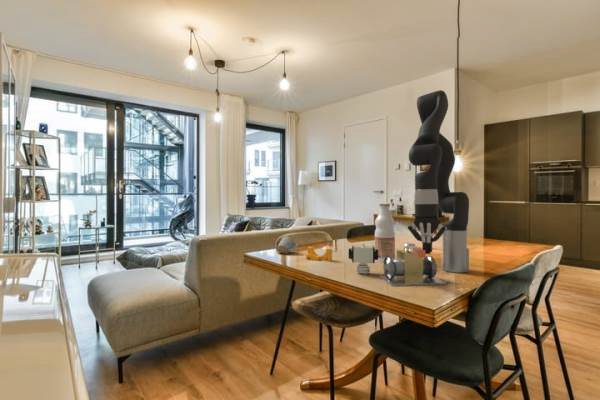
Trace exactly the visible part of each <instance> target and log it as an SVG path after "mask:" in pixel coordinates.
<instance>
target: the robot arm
mask: <svg viewBox="0 0 600 400" xmlns="http://www.w3.org/2000/svg"><path fill="white" fill-rule="evenodd" d="M416 108H417V112H418V116H419V120H420V122H421V125H420V127H419V130H418V136H417V138H416V140H415V141H414V143H413V144H412V145H411V147H410V149H409V153H408V161H409V163H410V164H411V165H412V166H415V167H417V166H418V167H419V166H429V167H428V169H427V170H425V171H421V172H418V173H416V174H415V175H414V176H415V177H414V220H413V223H412V224H410V225H408V226H407V229H408V230H409V232H410V233H411V234H412V236H413V237H414V238H415V239H416V240H417V241H418V242H421V244H422V249H424V250H426V255H430V254H431V253H432V252H433V243H434V242H436V241H439V240H440V238H441V237H442V270H443V271H445V272H450V273H459V274H460V273H466V272H470V248H468V242H467V241H468V233H467V232H468V224H469V215H470V213H469V211H470V199H469V197H468V194H467V193H466V192H463V191H450V185H449V184H450V183H449V181H450V176H451V174H452V171H453V169H454V167H455V163H456V157H455V152H454V147H453V145H452V142H450V140H448V139H447V138H446V137H445V135H443V134H442V133H441V127H442V124H443V122H444V120H445V118H446V115H447V112H448V109H449V100H448V96H447V94H446V92H445V91H444V90H441V89H440V90H436V91H433V92H430V93H426V94H422V95H420V96H419V97H417V99H416ZM439 210H440V211H441V212H442V213H443V214H447V215H448V214H451V215H453V217H452V219H449V220H448V221H445V222H443V223H441V220H440V218H439V216H440V215H439V214H440V213H439ZM436 230H438V231H437V232H436V234H435V235H434V232H435V231H436ZM419 232H420V233H419Z"/></svg>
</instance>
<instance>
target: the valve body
mask: <svg viewBox="0 0 600 400" xmlns="http://www.w3.org/2000/svg"><path fill="white" fill-rule="evenodd" d="M382 264H383V266H382V267H383V273H384V275H378V278H380V279H381V280H383V281H385V283H387V284H389V285H390V286H392V287H404V286H406V287H408V286H410V287H411V286H433V285H434V286H437V285H438V286H441V285H442V286H443V285H448V284H447V282H446V281H444V280H442V279H440V278H437V277H436V275H437V269H438V267H437V263H436V259H435V258H434V257H433V256H431V255H426V258H419V257H417V256H415V255H413V253H412V252H410V251H404V249H396V259H395V260H393V259H392V258H391V257H386V258H385V259H384V263H382Z"/></svg>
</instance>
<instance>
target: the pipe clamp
mask: <svg viewBox="0 0 600 400" xmlns="http://www.w3.org/2000/svg"><path fill="white" fill-rule="evenodd" d="M305 260H308V261H317V262H318V261H324V262H331V261H333V248H326V250H325V253H324V254H323V255H319V254H317V253H316V251H315V248H314V246H308V247H307V254H305Z"/></svg>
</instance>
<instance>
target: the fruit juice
mask: <svg viewBox="0 0 600 400" xmlns="http://www.w3.org/2000/svg"><path fill="white" fill-rule="evenodd" d="M390 207H391V204H390V203H380V204H379V211H378V215H377V217H376V218H375V221H374V225H375V230H374V248H375V249H378V260H375V262H378V263H382V264H384V259H385V258H386V257H391V258H392V259H393V260H396V254H395V252H396V251H395V250H396V249H395V248H396V247H395V246H396V245H395V244H396V243H395V241H396V233H395V229H394V228H395V227H394V226H395V219H394V217H393V216H392V213H391V209H390Z"/></svg>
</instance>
